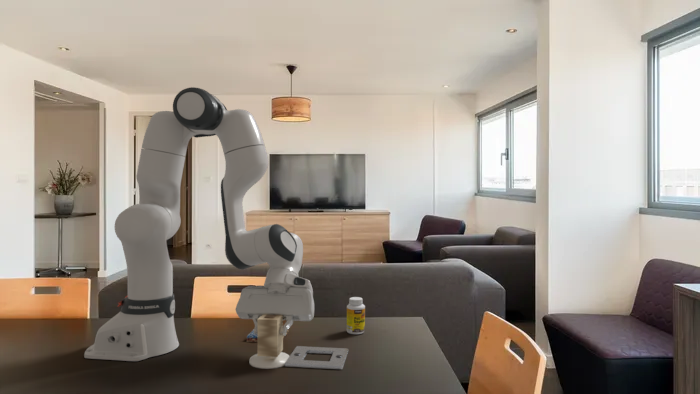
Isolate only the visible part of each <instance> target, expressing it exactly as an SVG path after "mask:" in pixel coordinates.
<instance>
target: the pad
mask: <svg viewBox="0 0 700 394" xmlns="http://www.w3.org/2000/svg"><path fill="white" fill-rule="evenodd" d="M289 356H290V354H288V353H286V352H283V351H281V353H280V354H279V355H278V357H269V356H257V353H255V354H253V355H252V356H251V357H249V360H248V361H249V366H251V367H253V368H256V369H262V370H269V369H279V368H282V367H285V362H286V361H287V359H288V358H289Z"/></svg>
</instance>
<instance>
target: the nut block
mask: <svg viewBox="0 0 700 394" xmlns="http://www.w3.org/2000/svg"><path fill="white" fill-rule="evenodd" d="M280 326H284V320H283V315H265V314H263V315H262V316H261V317H259V318H258V319H257V342H256V343H257V347H256V348H257V349H256V350H257V351H256V352H257V353H256V354H257V356H269V357H278V355H279V354H280V353H281V352H283V350H284V338H283V335H280V334H279V330H280Z"/></svg>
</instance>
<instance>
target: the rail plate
mask: <svg viewBox="0 0 700 394" xmlns="http://www.w3.org/2000/svg"><path fill="white" fill-rule="evenodd" d="M348 353H349V348H347V347H346V348H345V347H344V348H343V347H327V346H326V347H324V346H323V347H321V346H305V345H304V346H303V345H296V347H294V349H293V351H292V352H291V353H290V354H289V358H288V359H287V361H286V362H285V365H284V367H286V368H287V367H288V368H289V367H290V368H306V369H307V368H308V369H328V370H343V369H344V365H345V362H346V359H347V357H348ZM307 354H316V355H317V354H321V355H323V354H324V355H331V357H330V360H329V361H328V360H311V359H310V360H308V359H305V358H306V356H307Z"/></svg>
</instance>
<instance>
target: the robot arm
mask: <svg viewBox="0 0 700 394" xmlns="http://www.w3.org/2000/svg"><path fill="white" fill-rule="evenodd" d="M172 110H173V111H170V110H160V111H158V112H155V113H154V114H153V115H152V116H151V118H150V120H149V122H148V124H147V126H146V130H145V132H144V136H143V140H142V145H141V148H140V149H141V150H140V155H139V161H138V165H137V172H136V176H135V177H136V181H137V185H138V195H139V199H138V200H139V201H138V203H136V204H133V205H131V206H129V207H127V208H126V209H124V210H123V211H122V212H120V213H119V214H118V215H117V217H116V219H115V222H114V232H115V235H116V237H117V239H119V241H120V242H121V245H122V250H123V253H124V258H125V263H126V269H127V295H126V296H125V297H124V298H122V299H121V300H120V301H118V302H117V304H118V305H117V307H118V308H120V311H119V312H118V313H117V314H115V315H114V316H113V317H111V318H110V319H109V320H108V321H107V322H105V323H104V324H102V326H100V327H99V328H98V330H97V332H96V335H95V339H94V343H93V344H90V346H88V347H87V348H86V350H85V351H84V354H83V356H84V358H85V359H92V360H107V361H108V360H111V361H124V362H125V361H126V362H139V361H142V360H146V359H148V358H152V357H158V356H161V355H164V354H167V353H170V352H172V351H175V350H176V349H177V348H178V347H179V346H180V343H179V342H180V341H179V339H178V336H177V332H176V326H175V317H174V314H175V310H176V301H175V293H173V292H174V288H173V287H174V285H173V284H174V283H173V282H174V280H173V279H174V272H173V271H174V269H173V267H174V266H173V263H172V261H171V259H170V255H169V254H170V253H169V250H168V243H167V241H168V240H169V239H171V238H173V236H174V235H176V233H177V232H178V231H179V229H180V226H181V223H182V220H181V215H180V214H181V185H182V179H183V172H184V167H185V162H186V156H187V151H188V150H187V149H188V145H189V142H190V140H191V138H197V139H198V138H204V137H212V136H213V137H214V136H216V137H217V138H218V140H219V142H220V145H221V148H222V153H223V155H224V156H223V157H224V159H225V160H224V161H225V171H224V176H223V178H222V179H221V182H220V198H221V208H222V216H223V223H224V235H225V241H224V242H225V243H224V251H225V252H224V253H225V257H226V259H227V261H228V262H229V263H230V264H231V265H232V266H233V267H234V268H236V269H238V270H246V269H249V268H252V267H255V266H258V265H262V264H268V265H269V269H268V270H267V271H266V272H267V273H266V276H265V280H264V283H263V285H253V284H252V285H249V284H248V285H247V286H246V287H244V288H242V289H241V293H240V297H239V299H238V301H237V304H236V307H235V314H236V315H237V316H238V318H239V319H243V320H252V321H253V325H254V328H253V329H254V334H257V319H258V318H259V317H261V316H262V315H263V314H265V315H283V321H286V322H285V323H283V326H280V330H279V334H280V335H283V336H284V337H286V335H287V334H288V332H287V330H288V331H289V329H290V328H291V327H292V325H293V324H294V322H295V321H298V322H311V321H312V320H313V319H314V318H315V317H314V316H315V300H314V291H313V290H314V289H313V287H312V284H311V281H310V280H309V279H307V278H303V277H301V276H299V272H300V270H301V267H302V264H303V257H304V244H303V240H302V239H301V237H300V236H299V235H298V234H296V233H294V232H290V231H289V230H287V228H285V227H284V226H282V225H280V224H278V223H274V224H269V225H266V226H262V227H261V226H260V227H259V228H255V229H250V230H247V229H246V225H245V224H246V223H245V215H244V209H243V207H244V206H243V201H244V198H245V195H246V194H247V192H248V191H249V189H251V188H252V187H253V186H255V185H256V184H257V183H258V182H260V180H261V179H262V178H263V177H264V175H265V174H266V172H267V169H268V166H269V156H268V152H267V149H266V146H265V142H264V139H263V136H262V133H261V130H260V128H259V125H258V123H257V121H256V119H255V117H254V115H253V114H252V113H251V112H250V111H249V110H246V109H239V108H238V109H230V110H228V109H227V107H226V106H225V104H224V103H223V102H221V101H220V99H219V98H218V97H216V96H215V95H214V94H211V93H210V92H208V90H205V89H203V88H200V87H194V86H193V87H192V86H191V87H187V88H186V87H185V88H183V89H182V90H181V91H179V92H178V93H177V94H176V96H174V99H173V102H172ZM286 333H287V334H286Z"/></svg>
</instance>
